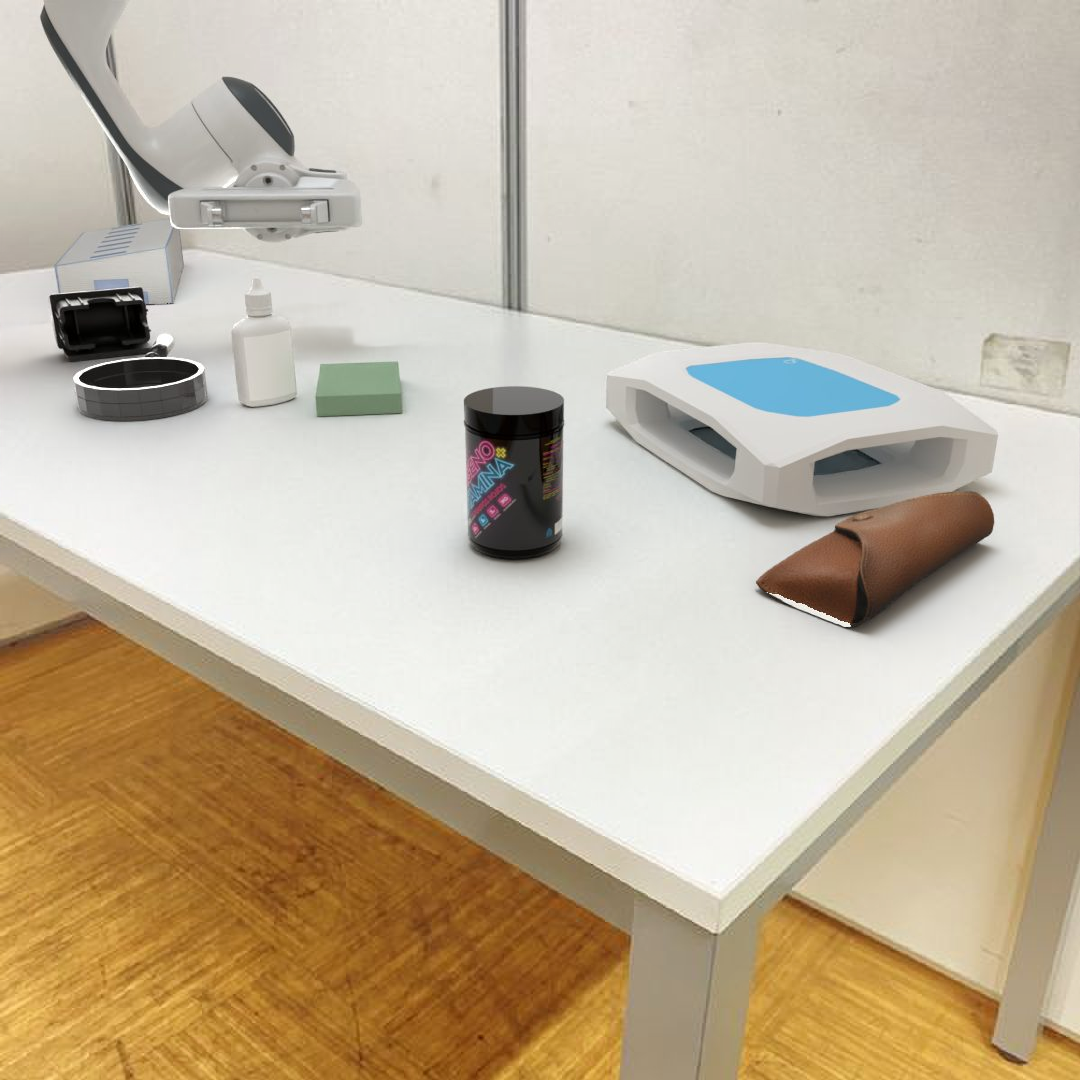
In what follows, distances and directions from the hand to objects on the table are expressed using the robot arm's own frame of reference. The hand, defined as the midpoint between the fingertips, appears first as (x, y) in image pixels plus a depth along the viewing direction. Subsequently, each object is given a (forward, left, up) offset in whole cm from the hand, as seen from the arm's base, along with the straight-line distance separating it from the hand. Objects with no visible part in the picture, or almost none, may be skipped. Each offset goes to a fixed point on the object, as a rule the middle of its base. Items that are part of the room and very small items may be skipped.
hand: (261, 216), depth 116 cm
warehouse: (-25, +51, -16) cm, 59 cm away
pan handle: (-12, 0, -15) cm, 19 cm away
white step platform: (+45, -34, -16) cm, 59 cm away
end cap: (-20, +11, -16) cm, 28 cm away
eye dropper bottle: (0, -12, -16) cm, 20 cm away
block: (+9, -12, -16) cm, 22 cm away
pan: (-12, -11, -16) cm, 23 cm away
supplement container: (+20, -50, -16) cm, 56 cm away
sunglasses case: (+44, -58, -16) cm, 74 cm away
